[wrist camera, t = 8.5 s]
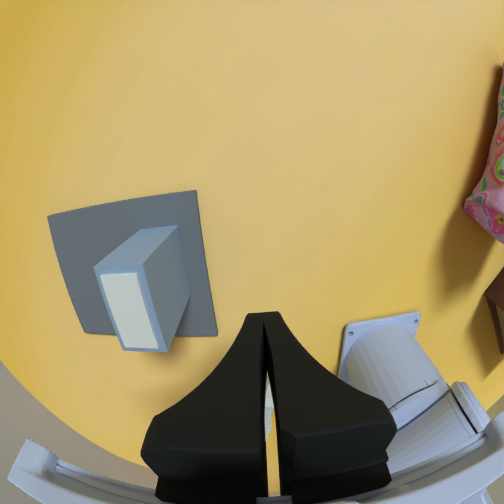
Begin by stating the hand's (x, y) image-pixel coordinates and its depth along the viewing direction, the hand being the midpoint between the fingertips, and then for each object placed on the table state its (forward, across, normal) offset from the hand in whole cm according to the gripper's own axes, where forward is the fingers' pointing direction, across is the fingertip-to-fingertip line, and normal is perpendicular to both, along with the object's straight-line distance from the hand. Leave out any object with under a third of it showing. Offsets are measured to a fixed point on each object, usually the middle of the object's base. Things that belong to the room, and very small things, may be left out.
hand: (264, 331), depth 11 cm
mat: (+9, +11, +1) cm, 14 cm away
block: (+9, +7, 0) cm, 11 cm away
